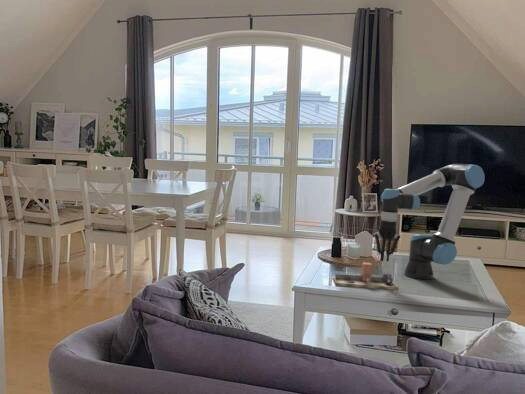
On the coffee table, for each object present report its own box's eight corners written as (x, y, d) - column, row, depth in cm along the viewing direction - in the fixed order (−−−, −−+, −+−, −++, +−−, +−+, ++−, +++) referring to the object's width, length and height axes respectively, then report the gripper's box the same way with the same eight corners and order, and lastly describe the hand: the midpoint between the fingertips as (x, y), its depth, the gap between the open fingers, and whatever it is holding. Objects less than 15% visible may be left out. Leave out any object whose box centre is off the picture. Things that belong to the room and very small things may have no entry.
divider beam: (390, 284, 242) (391, 273, 242) (394, 288, 235) (395, 276, 234) (334, 279, 242) (335, 269, 242) (336, 283, 235) (337, 272, 235)
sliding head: (368, 279, 243) (370, 262, 242) (372, 283, 235) (373, 266, 234) (360, 278, 243) (362, 262, 242) (363, 282, 235) (365, 265, 234)
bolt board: (391, 283, 244) (392, 280, 244) (398, 289, 232) (398, 287, 232) (332, 278, 244) (332, 276, 244) (335, 285, 232) (335, 282, 232)
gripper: (399, 220, 241) (394, 266, 243) (373, 218, 241) (368, 264, 243) (403, 222, 234) (398, 270, 236) (377, 220, 234) (372, 268, 236)
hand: (383, 267), depth 240 cm, fingers closed
